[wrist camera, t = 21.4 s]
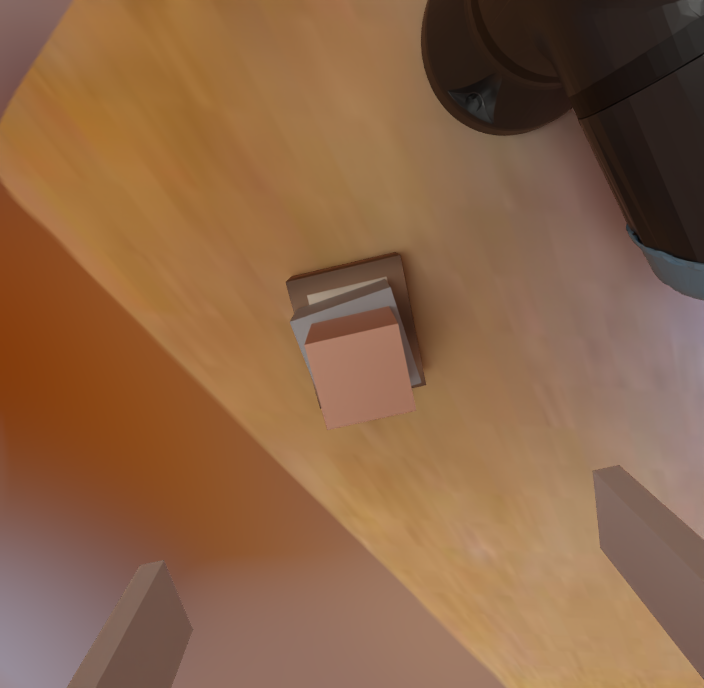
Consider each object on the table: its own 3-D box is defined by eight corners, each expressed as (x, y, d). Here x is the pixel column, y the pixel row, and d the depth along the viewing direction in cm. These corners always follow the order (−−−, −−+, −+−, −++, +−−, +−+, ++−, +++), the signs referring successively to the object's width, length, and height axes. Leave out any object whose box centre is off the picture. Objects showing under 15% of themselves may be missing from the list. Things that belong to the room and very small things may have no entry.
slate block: (296, 309, 38) (289, 322, 33) (384, 278, 38) (390, 287, 33) (328, 391, 40) (326, 413, 35) (412, 363, 40) (421, 382, 35)
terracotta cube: (311, 323, 33) (304, 344, 28) (388, 305, 33) (398, 323, 27) (330, 395, 35) (327, 430, 29) (404, 379, 35) (416, 410, 29)
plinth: (291, 276, 42) (285, 282, 38) (395, 252, 41) (400, 255, 37) (322, 392, 45) (320, 409, 41) (419, 370, 44) (426, 385, 40)
